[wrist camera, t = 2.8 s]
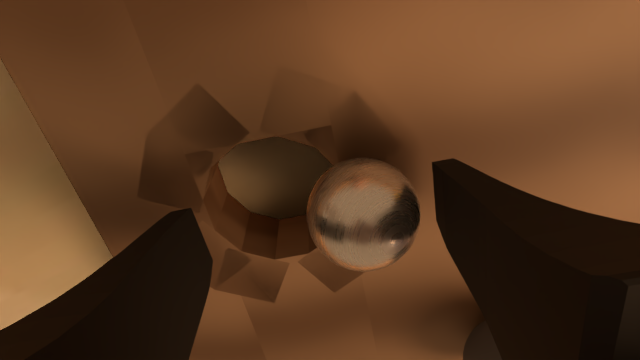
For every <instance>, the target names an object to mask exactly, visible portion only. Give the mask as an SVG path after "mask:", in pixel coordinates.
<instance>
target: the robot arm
mask: <svg viewBox="0 0 640 360" xmlns="http://www.w3.org/2000/svg"><path fill="white" fill-rule="evenodd" d="M432 172H433V185H434V198H435V211H436V221H437V224H438V227H439V229H440V232H441V235H442V238H443V240H444V243H445V245H446V248H447V250H448V252H449V254H450V255H451V257H452V259H453V261H454V263H455V265H456V266H457V268H458V270H459V272H460V274H461V276H462V277H463V279H464V281H465V283H466V285H467V286H468V288H469V290H470V292H471V294H472V295H473V297H474V299H475V301H476V303H477V305H478V306H479V308H480V310H481V312H482V314H483V316H484V318H485V320H486V322H487V324H488V327H489V329H490V332H491V334H492V336H493V339H494V341H495V344H496V346H497V348H498V351H499V353H500V356H501V358H502V360H640V224H639V223H633V222H628V221H623V220H618V219H614V218H609V217H605V216H601V215H596V214H592V213H588V212H584V211H581V210H577V209H573V208H570V207H567V206H564V205H561V204H557V203H554V202H551V201H548V200H545V199H542V198H540V197H537V196H534V195H532V194H529V193H527V192H524V191H522V190H519V189H517V188H515V187H512V186H510V185H508V184H506V183H504V182H501V181H499V180H497V179H495V178H493V177H491V176H489V175H487V174H485V173H483V172H481V171H479V170H477V169H475V168H473V167H471V166H469V165H467V164H465V163H463V162H461V161H459V160H457V159H454V158H451V159H446V160H441V161H435V162H432ZM212 266H213V259H212V257H211V254H210V252H209V249H208V247H207V244H206V242H205V240H204V237H203V235H202V232H201V230H200V228H199V225H198V223H197V220H196V218H195V216H194V213H193V211H192V208H187V209H181V210H176V211H172V212H170V213H168V214H167V215H165V216H164V217H163V218H161V219H160V220H159V221H157V222H156V223H155V224H154V225H152V226H151V227H150V228H149V229H148V230H146V231H145V232H144V233H143V234H142V235H140V236H139V237H138V238H137V239H136V240H134V241H133V242H132V243H131V244H130V245H128V246H127V247H126V248H125V249H124V250H122V251H121V252H120V253H119V254H117V255H116V256H115V257H113V258H112V259H111V260H110V261H108V262H107V263H106V264H104V265H103V266H102V267H101V268H99V269H98V270H97V271H95V272H94V273H93V274H91V275H90V276H89V277H87V278H86V279H85V280H83V281H82V282H80V283H79V284H77V285H76V286H74V287H73V288H71V289H70V290H68V291H67V292H65V293H64V294H62V295H61V296H59V297H58V298H56V299H55V300H53V301H51V302H50V303H48V304H46V305H45V306H43V307H41V308H39V309H38V310H36V311H34V312H33V313H31V314H29V315H27V316H26V317H24V318H22V319H21V320H19V321H17V322H15V323H14V324H12V325H10V326H8V327H6V328H4V329H2V330H0V360H189V357H190V354H191V350H192V347H193V344H194V340H195V337H196V334H197V330H198V327H199V324H200V320H201V317H202V313H203V310H204V307H205V303H206V300H207V296H208V292H209V288H210V281H211V274H212Z"/></svg>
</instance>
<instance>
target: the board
mask: <svg viewBox="0 0 640 360" xmlns="http://www.w3.org/2000/svg"><path fill="white" fill-rule="evenodd" d="M0 58H1V60H2V62H3V63H4V65H5V67H6V69H7V70H8V72H9V74H10V76H11V78H12V79H13V81H14V83H15V85H16V86H17V88H18V90H19V92H20V93H21V95H22V97H23V99H24V100H25V102H26V104H27V106H28V108H29V109H30V111H31V113H32V115H33V116H34V118H35V120H36V122H37V123H38V125H39V127H40V129H41V131H42V132H43V134H44V136H45V138H46V139H47V141H48V143H49V145H50V146H51V148H52V150H53V152H54V153H55V155H56V157H57V159H58V161H59V162H60V164H61V166H62V168H63V169H64V171H65V173H66V175H67V176H68V178H69V180H70V182H71V184H72V185H73V187H74V189H75V191H76V192H77V194H78V196H79V198H80V199H81V201H82V203H83V205H84V207H85V208H86V210H87V212H88V214H89V215H90V217H91V219H92V221H93V222H94V224H95V226H96V228H97V229H98V231H99V233H100V235H101V237H102V238H103V240H104V242H105V244H106V245H107V247H108V249H109V251H110V252H111V254H112V256H113V257H115V256H116V255H117V254H119V253H120V252H121V251H122V250H124V249H125V248H126V247H127V246H128V245H130V244H131V243H132V242H133V241H134V240H136V239H137V238H138V237H139V236H140V235H142V234H143V233H144V232H145V231H146V230H148V229H149V228H150V227H151V226H152V225H154V224H155V223H156V222H157V221H159V220H160V219H161V218H163V217H164V216H165V215H167V214H168V213H170V212H172V211H176V210H181V209H187V208H192V211H193V213H194V216H195V218H196V220H197V223H198V225H199V228H200V230H201V232H202V235H203V237H204V240H205V242H206V244H207V247H208V249H209V252H210V254H211V257H212V259H213V266H212V274H211V281H210V288H209V292H208V296H207V300H206V303H205V307H204V310H203V313H202V317H201V320H200V324H199V327H198V330H197V334H196V337H195V340H194V344H193V347H192V350H191V354H190V357H189V360H463V351H464V346H465V343H466V340H467V338H468V336H469V335H470V333H471V332H472V330H473V329H474V328H475V327H476V326H477V325H479V324H480V323H481V322H483V321H485V318H484V316H483V314H482V312H481V310H480V308H479V306H478V305H477V303H476V301H475V299H474V297H473V295H472V294H471V292H470V290H469V288H468V286H467V285H466V283H465V281H464V279H463V277H462V276H461V274H460V272H459V270H458V268H457V266H456V265H455V263H454V261H453V259H452V257H451V255H450V254H449V252H448V250H447V248H446V245H445V243H444V240H443V238H442V235H441V232H440V229H439V227H438V224H437V221H436V211H435V198H434V185H433V172H432V162H435V161H441V160H446V159H451V158H454V159H457V160H459V161H461V162H463V163H465V164H467V165H469V166H471V167H473V168H475V169H477V170H479V171H481V172H483V173H485V174H487V175H489V176H491V177H493V178H495V179H497V180H499V181H501V182H504V183H506V184H508V185H510V186H512V187H515V188H517V189H519V190H522V191H524V192H527V193H529V194H532V195H534V196H537V197H540V198H542V199H545V200H548V201H551V202H554V203H557V204H561V205H564V206H567V207H570V208H573V209H577V210H581V211H584V212H588V213H592V214H596V215H601V216H605V217H609V218H614V219H618V220H623V221H628V222H633V223H639V224H640V0H0ZM274 136H278V137H282V138H285V139H288V140H292V141H295V142H299V143H302V144H305V145H309V146H312V147H315V148H316V149H317V150H318V151H319V152H320V153H321V154H322V155H323V156H324V157H325V158H326V159H327V160H328V161H329V162H330V163H331V164H332V165H333V166H334V165H336V164H338V163H340V162H343V161H346V160H349V159H354V158H372V159H377V160H381V161H383V162H386V163H388V164H390V165H392V166H393V167H395V168H396V169H398V170H399V171H400V172H401V173H402V174H403V175H404V176H405V177H406V178H407V179H408V180H409V182H410V183H411V184H412V186H413V188H414V190H415V192H416V194H417V197H418V200H419V204H420V212H421V217H420V226H419V230H418V234H417V236H416V238H415V241H414V243H413V244H412V246H411V247H410V249H409V250H408V251H407V253H406V254H405V255H404V256H403V257H401V258H400V259H399V260H398V261H396V262H395V263H393V264H392V265H390V266H388V267H385V268H382V269H379V270H375V271H366V272H361V271H353V270H348V269H345V268H343V267H340V266H338V265H336V264H335V263H333V262H331V261H330V260H329V259H328V258H326V257H325V256H324V255H323V254H322V253H321V252H320V250H319V249H318V248H317V246H316V245H315V243H314V241H313V239H312V237H311V235H310V233H309V229H308V225H307V215H302V216H296V217H291V218H285V219H280V220H279V219H275V218H271V217H267V216H263V215H260V214H256V213H252V212H250V211H248V210H247V209H246V208H245V207H244V206H243V205H241V204H240V203H239V202H238V201H237V200H236V199H234V198H233V197H232V196H231V195H230V194H229V193H228V192H227V190H226V187H225V184H224V181H223V178H222V176H221V173H220V170H219V167H218V163H219V160H220V159H221V158H222V157H223V156H224V155H226V154H227V153H228V152H229V151H230V150H231V149H232V148H233V147H235V146H236V145H237V144H239V143H244V142H249V141H254V140H259V139H264V138H269V137H274Z"/></svg>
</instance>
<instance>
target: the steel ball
mask: <svg viewBox="0 0 640 360" xmlns="http://www.w3.org/2000/svg"><path fill="white" fill-rule="evenodd" d="M306 214H307V225H308V229H309V233H310V235H311V237H312V239H313V241H314V243H315V245H316V246H317V248H318V249H319V250H320V252H321V253H322V254H323V255H324V256H325V257H326V258H328V259H329V260H330V261H331V262H333V263H335V264H336V265H338V266H340V267H343V268H345V269H348V270H353V271H361V272H366V271H375V270H379V269H382V268H385V267H388V266H390V265H392V264H393V263H395V262H396V261H398V260H399V259H400V258H401V257H403V256H404V255H405V254H406V253H407V251H408V250H409V249H410V247H411V246H412V244H413V243H414V241H415V238H416V236H417V234H418V230H419V226H420V217H421V212H420V204H419V200H418V197H417V194H416V192H415V190H414V188H413V186H412V184H411V183H410V182H409V180H408V179H407V178H406V177H405V176H404V175H403V174H402V173H401V172H400V171H399V170H398V169H396V168H395V167H393V166H392V165H390V164H388V163H386V162H383V161H381V160H377V159H372V158H354V159H349V160H346V161H343V162H340V163H338V164H336V165H334V166H333V167H331V168H330V169H329V170H327V171H326V172H325V173H324V174H323V175H322V176H321V177H320V178H319V179H318V181H317V182H316V184H315V185H314V187H313V189H312V191H311V193H310V196H309V199H308V203H307V213H306Z"/></svg>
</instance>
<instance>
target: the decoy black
mask: <svg viewBox="0 0 640 360" xmlns="http://www.w3.org/2000/svg"><path fill="white" fill-rule="evenodd" d="M463 360H502V358H501V356H500V353H499V351H498V348H497V346H496V344H495V341H494V339H493V336H492V334H491V332H490V329H489V327H488V324H487V322H486V320H485V321H483V322H481V323H480V324H479V325H477V326H476V327H475V328H474V329H473V330H472V332H471V333H470V335H469V336H468V338H467V340H466V343H465V346H464V351H463Z"/></svg>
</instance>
